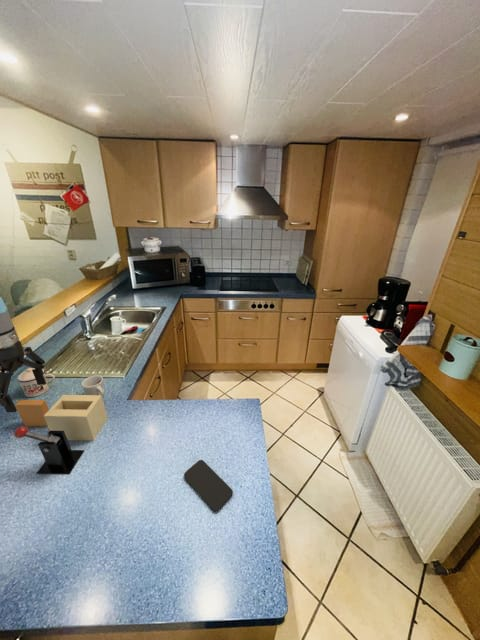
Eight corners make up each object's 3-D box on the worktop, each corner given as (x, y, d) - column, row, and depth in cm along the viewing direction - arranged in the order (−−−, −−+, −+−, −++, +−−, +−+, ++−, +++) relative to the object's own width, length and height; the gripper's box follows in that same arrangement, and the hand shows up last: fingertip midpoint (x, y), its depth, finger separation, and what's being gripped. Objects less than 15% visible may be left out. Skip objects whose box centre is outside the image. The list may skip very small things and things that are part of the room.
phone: (215, 512, 67) (182, 474, 76) (215, 514, 67) (182, 476, 76) (234, 491, 72) (201, 458, 81) (234, 493, 72) (201, 459, 81)
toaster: (54, 441, 87) (43, 415, 82) (71, 419, 96) (63, 394, 91) (94, 442, 87) (86, 416, 82) (108, 419, 96) (101, 395, 91)
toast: (25, 427, 92) (14, 404, 87) (30, 422, 94) (20, 399, 89) (49, 427, 92) (40, 405, 87) (54, 422, 94) (45, 400, 90)
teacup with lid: (21, 400, 104) (11, 378, 99) (27, 387, 111) (18, 365, 107) (56, 392, 109) (48, 370, 104) (59, 380, 116) (52, 359, 111)
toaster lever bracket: (37, 475, 76) (23, 449, 71) (55, 452, 83) (44, 426, 78) (70, 476, 76) (59, 449, 71) (85, 452, 83) (76, 426, 78)
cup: (114, 397, 107) (110, 382, 104) (95, 408, 101) (91, 392, 98) (100, 387, 112) (96, 372, 109) (82, 397, 106) (77, 382, 103)
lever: (10, 438, 72) (11, 431, 71) (19, 429, 75) (20, 422, 74) (53, 451, 75) (55, 444, 73) (60, 441, 78) (62, 435, 76)
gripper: (-22, 367, 67) (8, 425, 76) (44, 326, 90) (62, 374, 99) (-50, 367, 67) (-16, 425, 76) (23, 326, 90) (43, 374, 99)
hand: (28, 396), depth 87 cm, fingers open, 13 cm apart
